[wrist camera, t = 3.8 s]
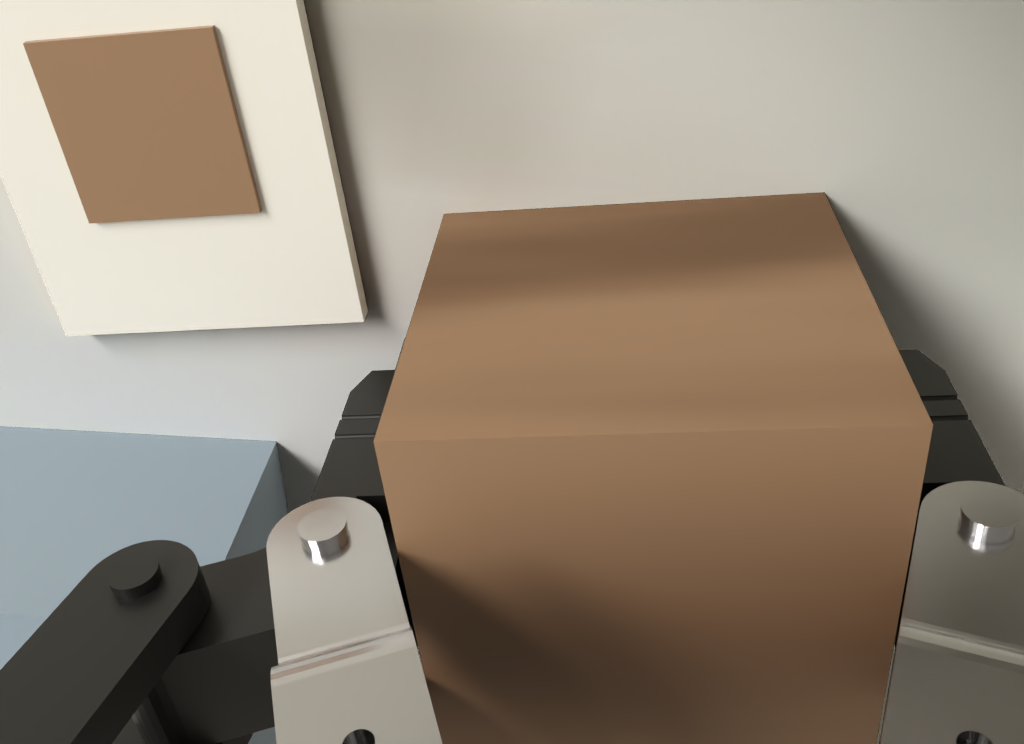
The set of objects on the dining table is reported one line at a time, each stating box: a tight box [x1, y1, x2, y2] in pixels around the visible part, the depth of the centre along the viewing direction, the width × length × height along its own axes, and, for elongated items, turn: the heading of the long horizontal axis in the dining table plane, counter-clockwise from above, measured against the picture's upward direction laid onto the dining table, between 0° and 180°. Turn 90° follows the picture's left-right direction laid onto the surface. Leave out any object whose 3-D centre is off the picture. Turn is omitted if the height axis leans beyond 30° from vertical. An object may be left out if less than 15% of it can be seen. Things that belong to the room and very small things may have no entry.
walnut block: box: [373, 192, 933, 744], centre depth 12 cm, size 5×5×5 cm
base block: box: [0, 426, 288, 744], centre depth 16 cm, size 6×6×4 cm
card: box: [0, 0, 368, 336], centre depth 13 cm, size 6×4×1 cm
